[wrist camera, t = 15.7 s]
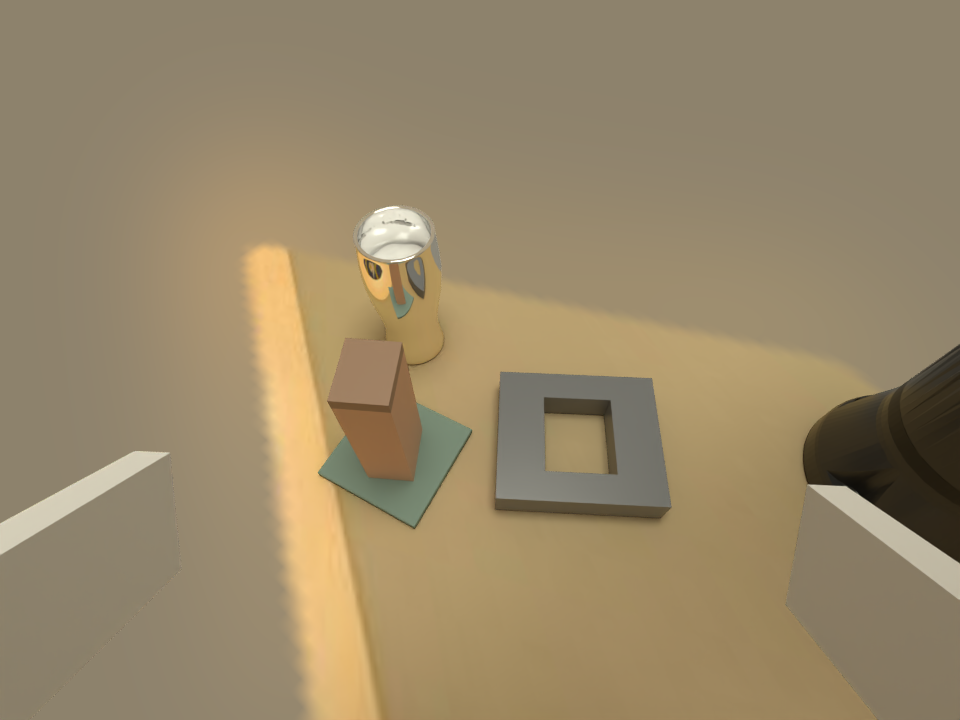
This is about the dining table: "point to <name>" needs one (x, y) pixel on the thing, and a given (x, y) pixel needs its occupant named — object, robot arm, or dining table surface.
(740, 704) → the dining table surface
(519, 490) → the socket block
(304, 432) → the dining table surface
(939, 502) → the robot arm
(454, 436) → the mat
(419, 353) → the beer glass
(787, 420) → the dining table surface
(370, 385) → the brown tall block
